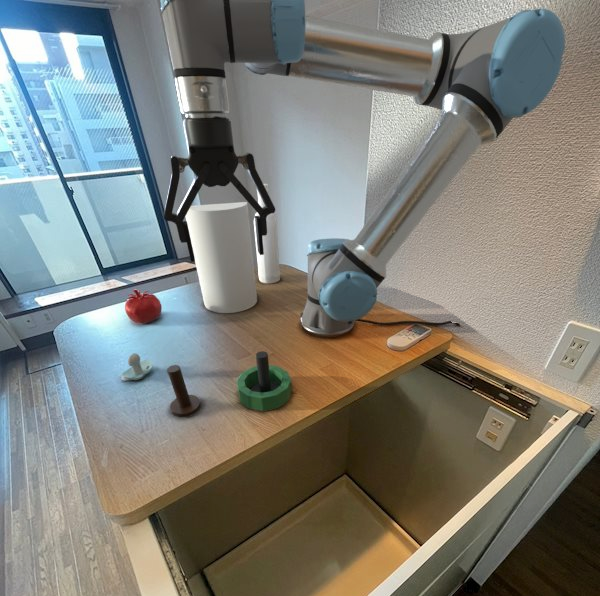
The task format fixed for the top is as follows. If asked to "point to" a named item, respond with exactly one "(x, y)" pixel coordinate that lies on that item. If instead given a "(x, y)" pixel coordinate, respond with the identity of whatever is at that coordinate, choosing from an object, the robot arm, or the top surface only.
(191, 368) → the top surface
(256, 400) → the ring
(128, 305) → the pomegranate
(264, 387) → the charcoal peg
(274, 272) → the bottle
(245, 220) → the cylinder
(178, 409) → the walnut peg
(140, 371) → the pacifier
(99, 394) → the top surface
